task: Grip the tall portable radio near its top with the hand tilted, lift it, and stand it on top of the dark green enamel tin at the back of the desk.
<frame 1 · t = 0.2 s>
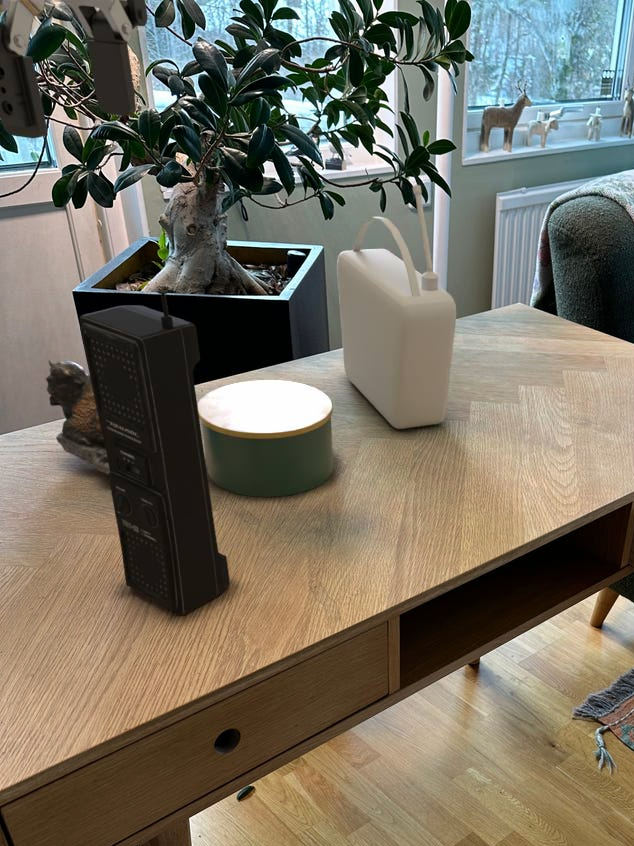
hand: (75, 124, 51), 35 cm above the table, tool pointing down, fingers open, 8 cm apart
white watering can: (397, 401, 110), on the table
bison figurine: (111, 469, 92), on the table
portable radio: (175, 589, 75), on the table
tin: (271, 467, 94), on the table
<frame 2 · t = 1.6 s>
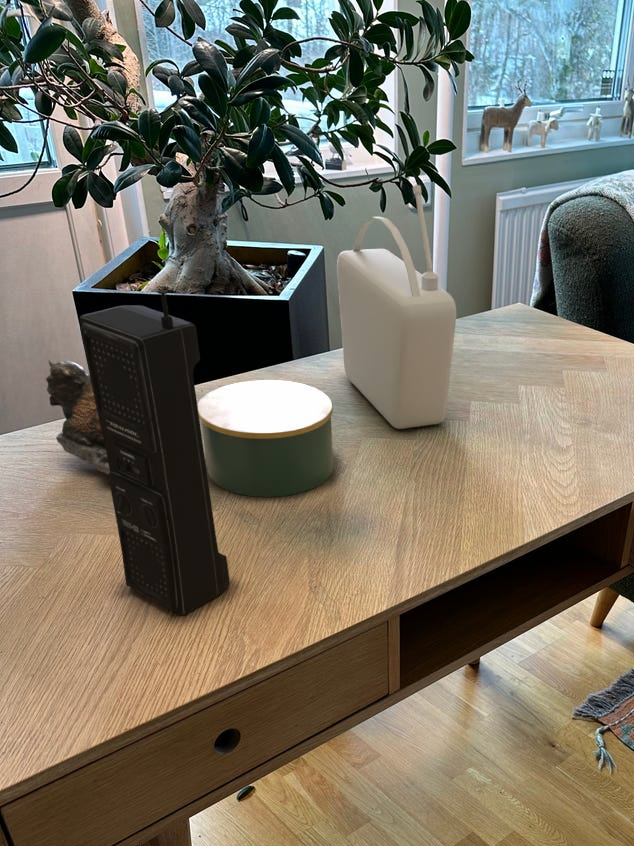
nothing on the table moved.
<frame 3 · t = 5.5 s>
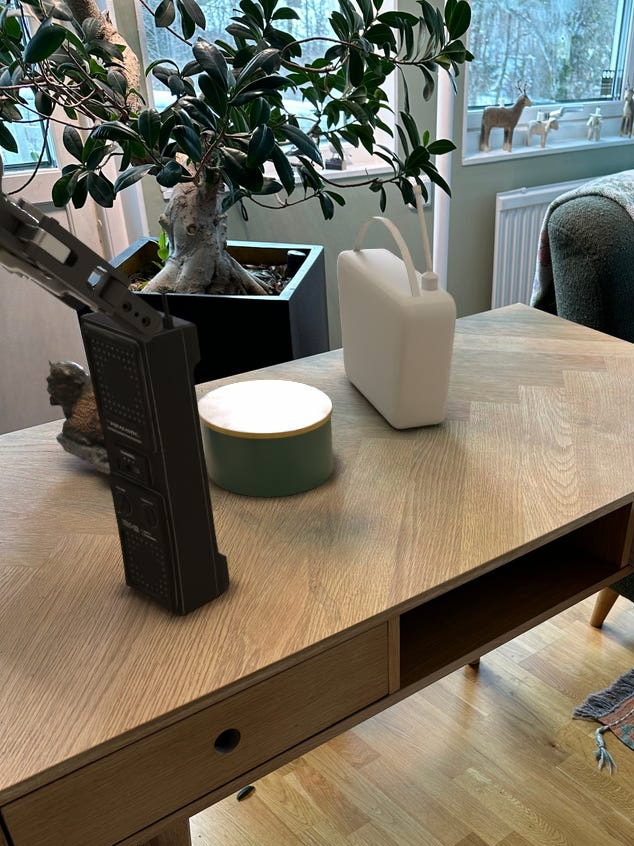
hand: (118, 314, 61), 23 cm above the table, tool tilted 45°, fingers open, 8 cm apart
portable radio: (175, 589, 75), on the table, touching gripper
everything else where it was.
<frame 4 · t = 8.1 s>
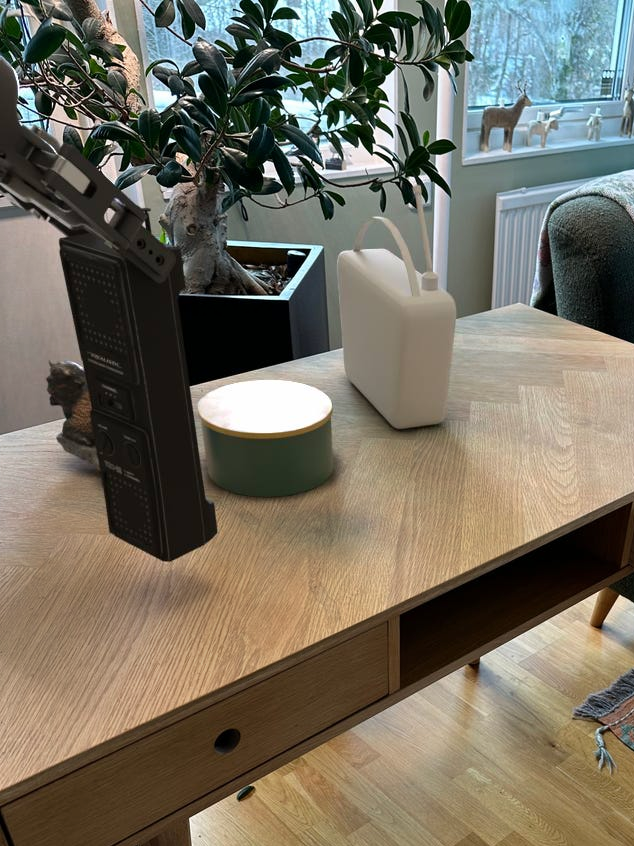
hand: (133, 257, 60), 27 cm above the table, tool tilted 45°, fingers closed on portable radio, 7 cm apart
portable radio: (160, 538, 72), point 5 cm above the table, touching gripper
everything else where it was.
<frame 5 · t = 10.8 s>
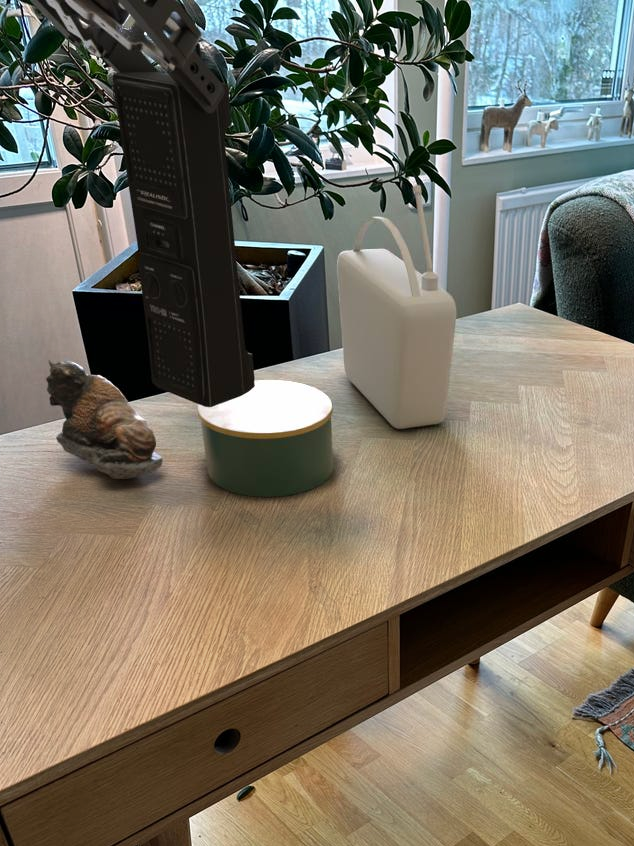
hand: (182, 94, 63), 35 cm above the table, tool tilted 45°, fingers closed on portable radio, 7 cm apart
portable radio: (200, 391, 75), point 13 cm above the table, touching gripper
everything else where it was.
when the fingers open (29 cm above the table, at t = 15.1 s): portable radio stays where it is, resting on tin.
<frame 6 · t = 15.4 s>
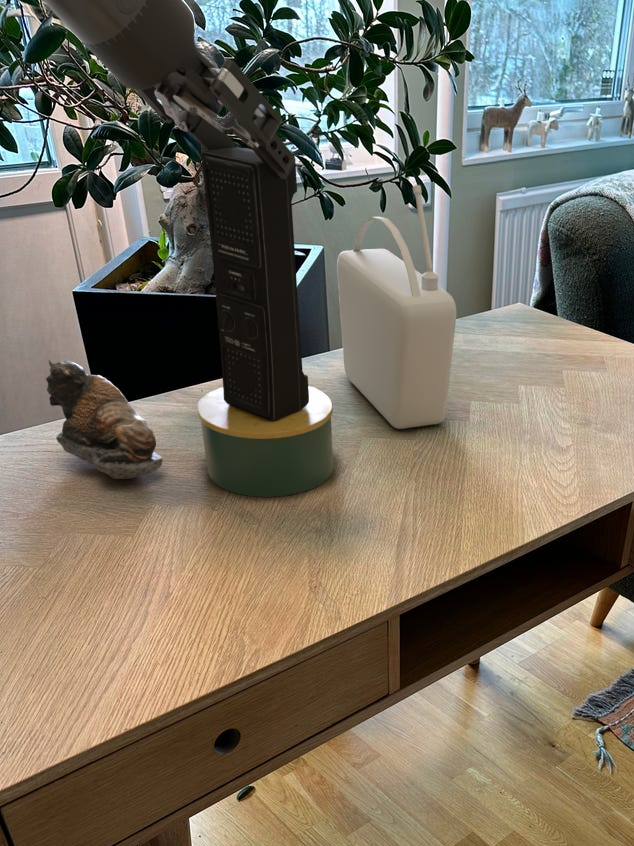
hand: (256, 161, 77), 29 cm above the table, tool tilted 45°, fingers open, 8 cm apart
portable radio: (263, 406, 89), point 7 cm above the table, touching tin
everything else where it was.
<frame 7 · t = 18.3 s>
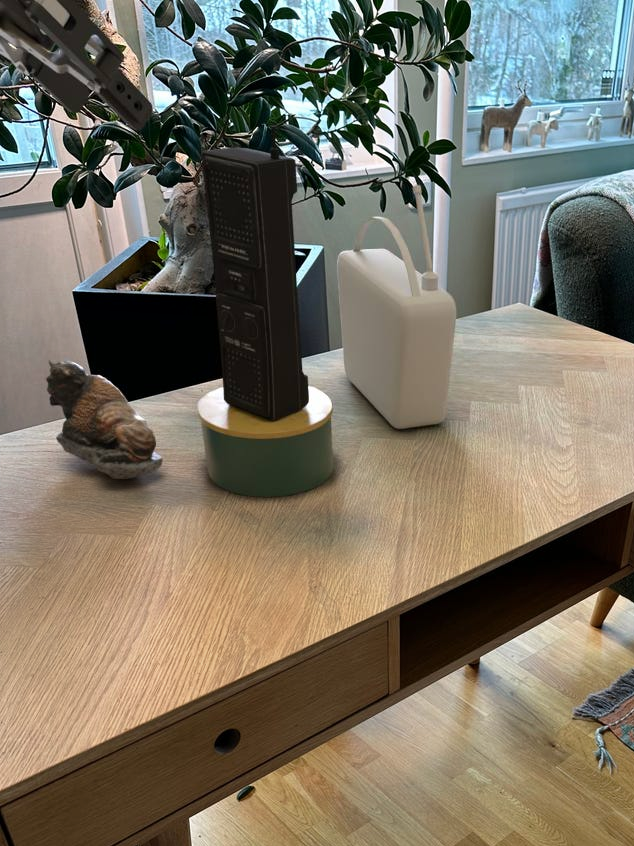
hand: (112, 111, 66), 33 cm above the table, tool tilted 45°, fingers open, 8 cm apart
nothing on the table moved.
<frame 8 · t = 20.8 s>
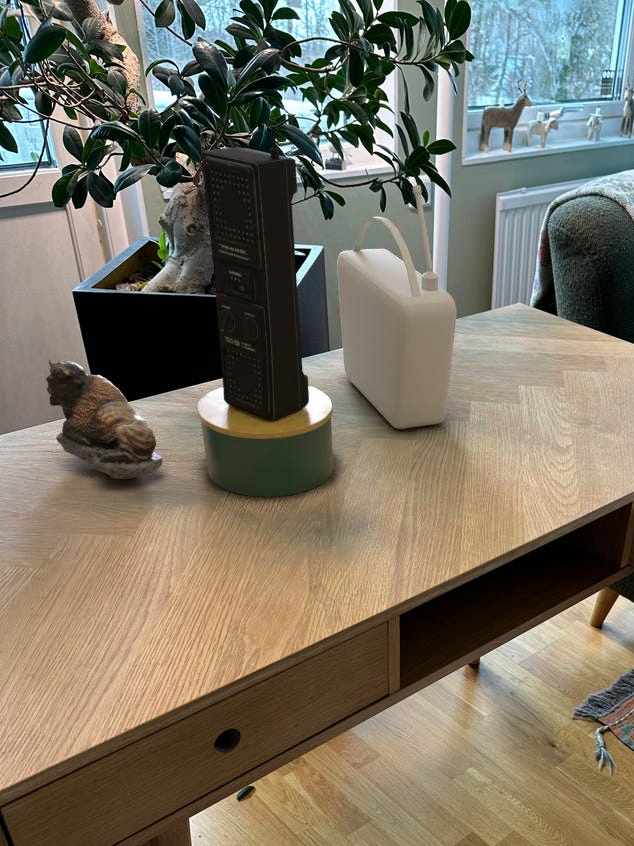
nothing on the table moved.
at the end: portable radio inside the target area on the tin (0.3 cm from its centre), point 6.8 cm above the tin's base; portable radio tilted 0°; the gripper is holding nothing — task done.
